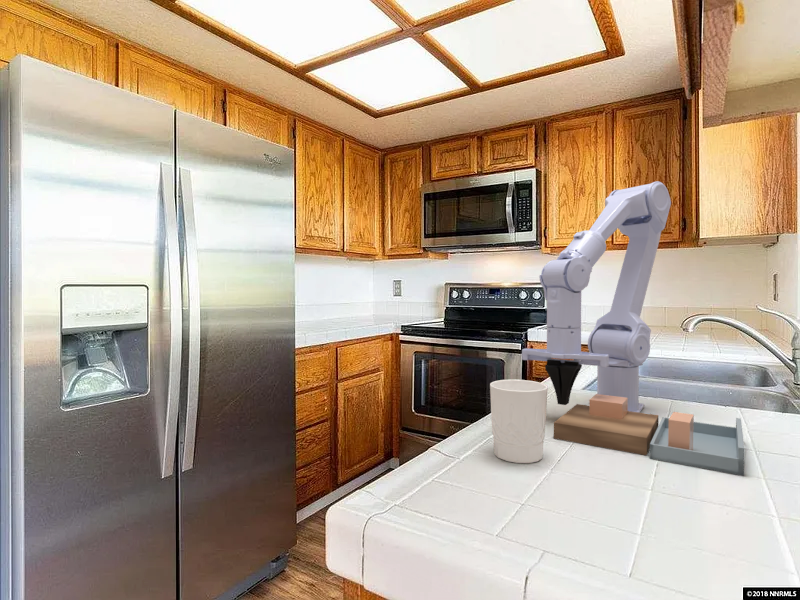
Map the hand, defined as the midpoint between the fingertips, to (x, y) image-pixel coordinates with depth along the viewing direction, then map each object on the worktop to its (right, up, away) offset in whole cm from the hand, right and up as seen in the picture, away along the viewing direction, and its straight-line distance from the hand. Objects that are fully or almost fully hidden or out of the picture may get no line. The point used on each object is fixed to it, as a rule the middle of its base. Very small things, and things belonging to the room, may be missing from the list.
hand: (563, 403), depth 82 cm
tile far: (+6, -1, -4) cm, 8 cm away
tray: (+14, -4, -14) cm, 21 cm away
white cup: (-12, -4, -16) cm, 21 cm away
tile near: (+10, -1, -16) cm, 19 cm away
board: (+4, -3, -7) cm, 9 cm away
